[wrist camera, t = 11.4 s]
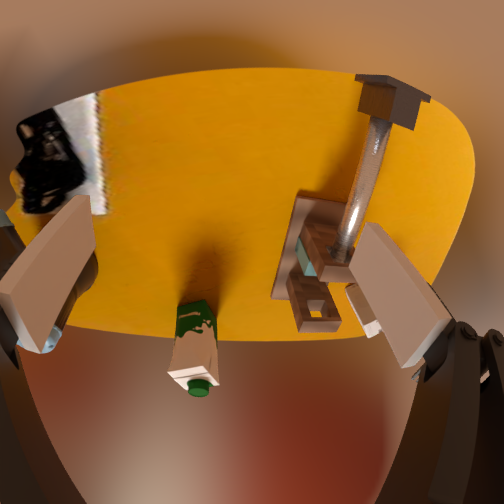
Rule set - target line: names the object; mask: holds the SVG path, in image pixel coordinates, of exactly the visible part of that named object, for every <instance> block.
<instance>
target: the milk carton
mask: <svg viewBox="0 0 504 504" xmlns="http://www.w3.org/2000/svg"><path fill="white" fill-rule="evenodd" d="M167 373H168V374H170V375H171V376H172V377H173V379H174V380H175V381H176V382H178V383H179V384H180V385H181V386H182V387H183V388H184V389H185V390H188V393H189V394H190V395H192V396H195V397H204V396H207V395H208V393H209V387H211V386H215V385H219V377H218V362H217V319H216V318H215V316H214V314H213V313H212V311H211V309H210V308H209V306H208V304H207V303H206V301H205V300H201V301H197V302H194V303H190V304H187V305H183V306H179V307H177V319H176V331H175V339H174V348H173V358H172V360H171V363H170V366H169V369H168V371H167Z"/></svg>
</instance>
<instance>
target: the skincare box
mask: <svg viewBox="0 0 504 504" xmlns="http://www.w3.org/2000/svg"><path fill="white" fill-rule="evenodd" d="M345 292H346V295H347V297H348V300H349V302H350V304H351V306H352V308H353V310H354V312H355V314H356V316H357V318H358V320H359V321H360V323H361V325H362V327H363V329H364V331H365V333H366V335H367V337H368V338H370V337H372V336H374V335H376V334H378V333H380V332H381V331H383V330H382V328H381V326H380V324H379V322H378V320H377V318H376V316H375V314H374V312H373V311H372V309H371V307H370V305H369V303H368V301H367V299H366V297H365V296H364V294H363V292H362V290H361V288H360V286H359V285H358V283H355V284H353V285H351V286H349V287H347V288H345Z"/></svg>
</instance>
